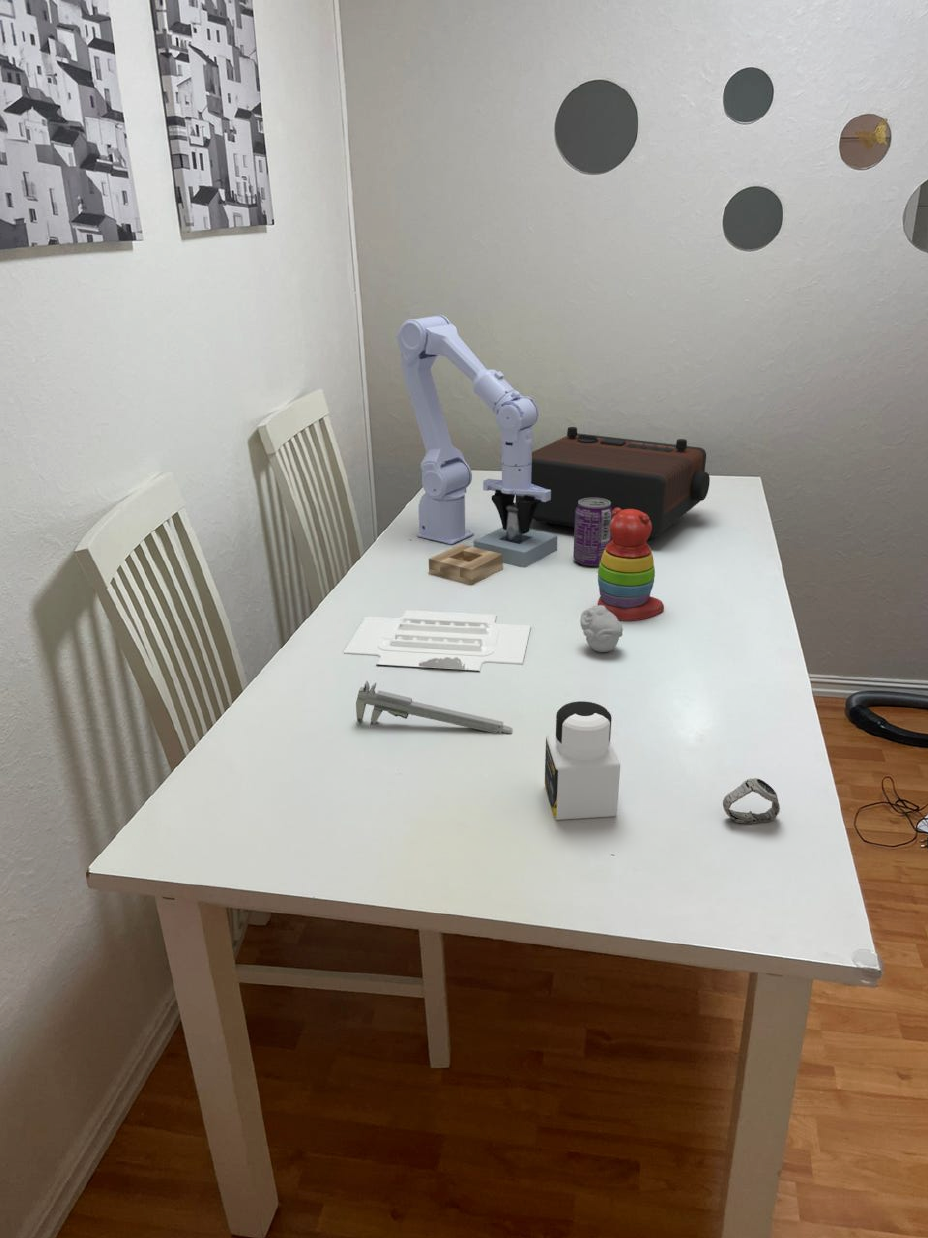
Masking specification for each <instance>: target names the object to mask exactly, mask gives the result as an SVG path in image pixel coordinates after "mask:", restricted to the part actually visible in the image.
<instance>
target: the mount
mask: <svg viewBox="0 0 928 1238" xmlns="http://www.w3.org/2000/svg"><path fill="white" fill-rule="evenodd" d="M503 564H504V562H503V554H500V553H496V552H492V551H488V550H484V549H479V548H475V547H474V546H471V545H466V544H461V543H460V544H457V545H456V546H453V547H451V548H449V549H447V550H445V551H443V552H441V553H438V554H435V555H433V556H431V557H429V558H428V574H429V575H432V576H436V577H440V578H443V579H447V580H452V581H456V582H458V583H462V584H466V585H469V586H473V585H475V584H477V583H479V582H480V581H482V580H485V579H486V578H488V577H490V576H492V575H494V574H496V573H497V572H500V571H502V570H503V568H504V565H503Z"/></svg>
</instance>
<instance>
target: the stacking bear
mask: <svg viewBox="0 0 928 1238" xmlns="http://www.w3.org/2000/svg"><path fill="white" fill-rule="evenodd" d="M612 516H613V518H612V520H611V523H610V534H611V541H610V542H609V543H608V544H607V546H606V548H605V550H604V552H603V555H602V558H601V562H600V564H599V566H598V570H597V585H598V592H599V598H598V600H597V605H596V606H598V605H603V606H605V607H606V609H607V610H608V611H609V612H611V613H612V614H614V615H615V616H616V617H617V619H618V621H638V620H644V619H648V618H652V617H655V616H656V615H659V614H660V613H662V612H663V611H664V610H665V606H664V603H663V601H662V600H660V598H657V597H654V596H651V592H652V590H653V587H654V583H655V577H656V574H655V573H656V571H655V564H654V563H655V562H654V556H653V552H652V550H651V547H650V545H649V544H648V543H647V541H648V540H647V539H648V538H649V536H650V533H651V530H652V524H651V521H650V520H649V517H648V515H647V514H645V513H643V512H641V511H639V510H635V509H625V510H622V509H620V508H615V509H614V510H613V511H612Z"/></svg>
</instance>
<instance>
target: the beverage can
mask: <svg viewBox="0 0 928 1238" xmlns="http://www.w3.org/2000/svg"><path fill="white" fill-rule="evenodd" d="M610 505H611V502H610V501H609V500H607V499H603V498H584V499H581V500H579V501H578V506H577V508H576V510H575V527H574V532H573V533H574V534H573V536H574V537H573V553H572V554H573V560H574V561H575V562H577V563H579V564H580V565H583V566H586V567H599V564H600V562H601V558H602V555H603V552H604V550H605V548H606V546H607V544H608V543H609V542H610V541H612V537H611V534H610V523H611V520H612V518H613V516H612V508H611V506H610Z"/></svg>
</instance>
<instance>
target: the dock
mask: <svg viewBox="0 0 928 1238" xmlns="http://www.w3.org/2000/svg"><path fill="white" fill-rule="evenodd" d="M473 547H475V548H479V549H484V550H488V551H492V552H496V553H500V554H503V564H504V563H506V564H508V565H514V566H518V567H522V568H526V567H528V566H530V565H532V564H534V563H535V562H538V561H540V560H541V559H543V558H545V557H546V556H549V555H550V554H552V553H554V552H555V551H557V550H558V535H556V534H551V533H548V532H543V531H538V530H534V529H530V530H529V532H527V533H525V534H522V543H521V544H517V543H513V542H508V541H506V530H503V527H500V528H498V529H496V530H494V531H492V532H490V533H487V534H485V535H483V536H481V537H479V538H476V539H474V540H473Z"/></svg>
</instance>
